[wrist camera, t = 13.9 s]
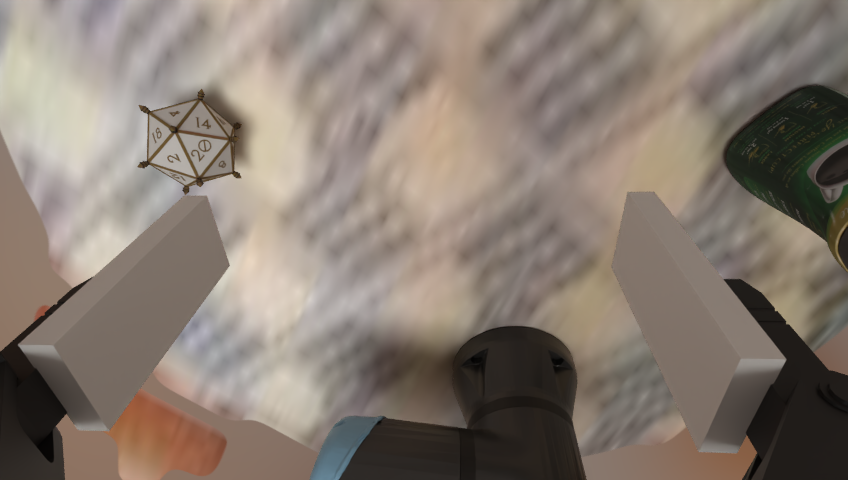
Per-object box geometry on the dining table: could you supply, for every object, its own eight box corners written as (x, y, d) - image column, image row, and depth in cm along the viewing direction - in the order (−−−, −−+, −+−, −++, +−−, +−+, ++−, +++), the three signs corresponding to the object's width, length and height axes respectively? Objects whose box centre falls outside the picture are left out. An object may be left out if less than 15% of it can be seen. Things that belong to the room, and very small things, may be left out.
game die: (223, 98, 46) (186, 53, 36) (274, 166, 46) (251, 139, 37) (145, 147, 45) (86, 114, 35) (198, 217, 45) (154, 203, 35)
